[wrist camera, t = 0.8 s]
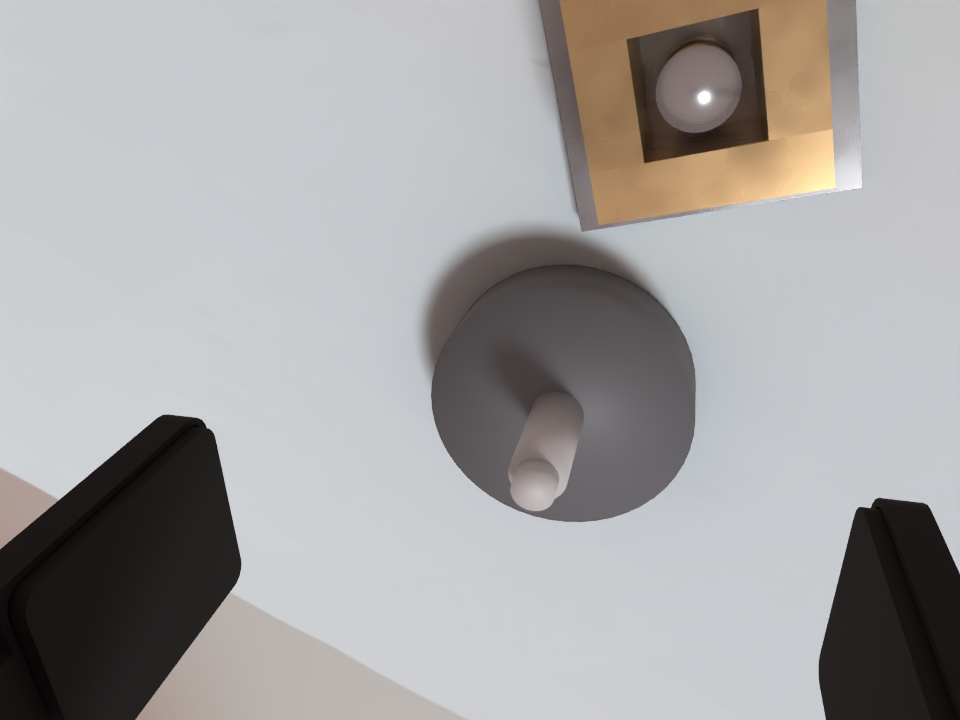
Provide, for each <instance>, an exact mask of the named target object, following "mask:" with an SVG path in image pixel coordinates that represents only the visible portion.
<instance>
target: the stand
mask: <svg viewBox="0 0 960 720" xmlns="http://www.w3.org/2000/svg"><path fill="white" fill-rule="evenodd" d="M539 1H540V6H541V12H542V17H543V23H544V28H545V34H546V39H547V44H548V50H549V55H550V61H551V66H552V72H553V77H554V83H555V88H556V94H557V99H558V104H559V110H560V115H561V121H562V126H563V132H564V137H565V143H566V148H567V154H568V159H569V164H570V170H571V175H572V181H573V186H574V192H575V197H576V203H577V208H578V214H579V219H580V224H581V230H582V232H583V231H589V230H595V229H602V228H608V227H615V226H621V225H627V224H634V223H640V222H647V221H653V220H659V219H666V218H672V217H678V216H685V215H691V214H698V213H704V212H710V211H717V210H723V209H729V208H736V207H742V206H749V205H755V204H761V203H768V202H774V201H781V200H787V199H793V198H800V197H806V196H812V195H819V194H825V193H832V192H838V191H844V190H851V189H857V188H862V172H861V142H860V112H859V81H858V51H857V21H856V0H827V20H828V42H829V63H830V84H831V105H832V127H833V148H834V169H835V188H831V189H825V190H818V191H812V192H806V193H799V194H793V195H787V196H780V197H774V198H768V199H762V200H755V201H749V202H743V203H736V204H730V205H724V206H717V207H711V208H705V209H698V210H692V211H686V212H679V213H673V214H667V215H660V216H654V217H648V218H642V219H635V220H629V221H623V222H616V223H610V224H604V225H598V219H597V213H596V207H595V202H594V196H593V190H592V184H591V179H590V173H589V167H588V161H587V156H586V150H585V144H584V138H583V133H582V127H581V121H580V115H579V110H578V104H577V98H576V92H575V87H574V81H573V75H572V69H571V64H570V58H569V52H568V46H567V41H566V35H565V29H564V23H563V18H562V12H561V6H560V0H539ZM639 37H640V44H641V51H642V58H643V66H644V73H645V80H646V87H647V95H648V102H649V109H650V116H651V124H652V131H653V134H654V133H660V132H665V131H670V130H675V129H679V130H681V131H685V132H690V133H699V132H705V131H709V130H711V129H714V128H716V127H717V126H719V125H721V124H722V123H723V122H724V121H726V120H727V119H732V118H737V117H742V116H748V115H753V114H758V111H757V99H756V87H755V75H754V63H753V52H752V40H751V28H750V16H749V11H745V12H741V13H736V14H732V15H728V16H724V17H719V18H715V19H711V20H707V21H702V22H698V23H694V24H690V25H685V26H681V27H677V28H673V29H668V30H664V31H660V32H656V33H651V34H647V35H643V36H639Z"/></svg>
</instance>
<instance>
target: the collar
mask: <svg viewBox="0 0 960 720" xmlns="http://www.w3.org/2000/svg"><path fill="white" fill-rule="evenodd" d="M560 6H561V12H562V18H563V23H564V29H565V35H566V41H567V46H568V52H569V58H570V64H571V69H572V75H573V81H574V87H575V92H576V98H577V104H578V110H579V115H580V121H581V127H582V133H583V138H584V144H585V150H586V156H587V161H588V167H589V173H590V179H591V184H592V190H593V196H594V202H595V207H596V213H597V219H598V225H604V224H610V223H616V222H623V221H629V220H635V219H642V218H648V217H654V216H660V215H667V214H673V213H679V212H686V211H692V210H698V209H705V208H711V207H717V206H724V205H730V204H736V203H743V202H749V201H755V200H762V199H768V198H774V197H780V196H787V195H793V194H799V193H806V192H812V191H818V190H825V189H831V188H835V169H834V148H833V127H832V105H831V84H830V63H829V42H828V20H827V0H560ZM745 11H749V16H750V28H751V40H752V52H753V63H754V75H755V87H756V99H757V111H758V114H753V115H748V116H742V117H737V118H732V119H727V120H726V121H724V122H723V123H722V124H721V125H719V126H717V127H716V128H714V129H711V130H709V131H705V132H699V133H690V132H685V131H681V130H679V129H675V130H670V131H665V132H660V133H654V134H653V131H652V124H651V116H650V109H649V102H648V95H647V87H646V80H645V73H644V66H643V58H642V51H641V44H640V37H639V36H643V35H647V34H651V33H656V32H660V31H664V30H668V29H673V28H677V27H681V26H685V25H690V24H694V23H698V22H702V21H707V20H711V19H715V18H719V17H724V16H728V15H732V14H736V13H741V12H745Z"/></svg>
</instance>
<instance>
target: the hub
mask: <svg viewBox="0 0 960 720" xmlns="http://www.w3.org/2000/svg"><path fill="white" fill-rule="evenodd" d="M695 385H696V384H695V369H694V364H693V359H692V355H691V352H690V349H689V346H688V344H687V341H686V339H685V337H684V335H683V333H682V331H681V330H680V328H679V326H678V325H677V323H676V322H675V320H674V319H673V318H672V316H671V315H670V314H669V312H668V311H667V310H666V309H665V308H664V307H663V306H662V305H661V304H660V303H659V302H658V301H657V300H656V299H654V298H653V297H652V296H651V295H649V294H648V293H647V292H646V291H644V290H643V289H641V288H640V287H638V286H636V285H635V284H633V283H631V282H630V281H628V280H626V279H623V278H621V277H619V276H617V275H614V274H612V273H609V272H605V271H602V270H599V269H595V268H590V267H584V266H577V265H552V266H543V267H538V268H533V269H529V270H526V271H523V272H520V273H517V274H514V275H512V276H510V277H508V278H506V279H504V280H502V281H500V282H499V283H497V284H496V285H494V286H493V287H492V288H490V289H489V290H487V291H486V292H485V293H484V294H483V295H482V296H481V297H480V298H479V299H478V300H477V301H476V302H475V303H474V304H473V306H472V307H471V308H470V309H469V311H468V312H467V313H466V315H465V316H464V318H463V319H462V321H461V322H460V323H459V325H458V326H457V328H456V329H455V331H454V332H453V334H452V335H451V337H450V338H449V339H448V341H447V343H446V345H445V346H444V348H443V350H442V352H441V353H440V356H439V359H438V361H437V364H436V366H435V371H434V375H433V380H432V392H431V398H432V410H433V415H434V420H435V424H436V427H437V430H438V432H439V435H440V438H441V440H442V442H443V444H444V446H445V448H446V450H447V452H448V453H449V454H450V456H451V457H452V459H453V460H454V462H455V463H456V465H457V466H458V467H459V468H460V469H461V470H462V472H463V473H464V474H465V475H466V476H467V477H468V478H469V479H470V480H471V481H472V482H473V483H474V484H476V485H477V486H478V487H479V488H480V489H482V490H483V491H484V492H486V493H487V494H488V495H490V496H491V497H493V498H495V499H496V500H498V501H500V502H501V503H503V504H505V505H507V506H509V507H512V508H514V509H516V510H518V511H521V512H524V513H527V514H530V515H532V516H536V517H541V518H545V519H549V520H557V521H565V522H585V521H597V520H602V519H607V518H612V517H615V516H618V515H621V514H624V513H627V512H629V511H631V510H634V509H636V508H638V507H640V506H642V505H643V504H645V503H646V502H648V501H650V500H651V499H653V498H654V497H655V496H657V495H658V494H659V493H660V492H661V491H662V490H664V489H665V488H666V487H667V486H668V484H669V483H670V482H671V481H672V480H673V479H674V478H675V476H676V475H677V473H678V472H679V470H680V469H681V467H682V466H683V464H684V462H685V460H686V457H687V455H688V453H689V450H690V447H691V443H692V439H693V436H694V426H695Z"/></svg>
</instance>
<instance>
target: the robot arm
mask: <svg viewBox="0 0 960 720" xmlns="http://www.w3.org/2000/svg"><path fill="white" fill-rule="evenodd" d="M240 571H241V558H240V553H239V548H238V544H237V539H236V534H235V529H234V525H233V520H232V515H231V511H230V506H229V501H228V496H227V492H226V487H225V482H224V477H223V473H222V468H221V463H220V459H219V454H218V449H217V444H216V440H215V436H214V433H213V432H212V431H211V430H210V429H207V428H206V425H205V423H204V422H203V421H202V420H200V419H198V418H193V417H184V416H175V415H162V416H160V417H158V418H157V419H156V420H154V421H153V422H152V423H151V424H150V425H148V426H147V427H146V428H145V429H144V430H143V431H141V432H140V433H139V434H138V435H137V436H135V437H134V438H133V439H132V440H131V441H129V442H128V443H127V444H126V445H125V446H123V447H122V448H121V449H120V450H119V451H117V452H116V453H115V454H114V455H113V456H111V457H110V458H109V459H108V460H107V461H105V462H104V463H103V464H102V465H101V466H99V467H98V468H97V469H96V470H95V471H93V472H92V473H91V474H90V475H89V476H88V477H86V478H85V479H84V480H83V481H82V482H80V483H79V484H78V485H77V486H76V487H74V488H73V489H72V490H71V491H70V492H68V493H67V494H66V495H65V496H64V497H62V498H61V499H60V500H59V501H58V502H56V504H54V505H53V506H52V507H50V508H49V509H48V510H47V511H46V512H44V513H43V514H42V515H41V516H40V517H39V518H37V519H36V520H35V521H34V522H32V523H31V524H30V525H29V526H28V527H27V528H25V529H24V530H23V531H22V532H21V533H20V534H18V535H17V536H16V537H15V538H13V539H12V540H11V541H10V542H9V543H7V544H6V545H5V546H4V547H3V548H1V549H0V720H135V719H136V718H137V716H138V715H139V714H140V712H141V711H142V710H143V708H144V707H145V706H146V704H147V703H148V702H149V700H150V699H151V698H152V696H153V695H154V694H155V692H156V691H157V689H158V688H159V687H160V685H161V684H162V683H163V681H164V680H165V679H166V677H167V676H168V675H169V673H170V672H171V671H172V669H173V668H174V667H175V665H176V664H177V663H178V661H179V660H180V658H181V657H182V656H183V654H184V653H185V651H186V650H187V649H188V648H189V646H190V645H191V644H192V642H193V641H194V640H195V638H196V637H197V636H198V634H199V633H200V632H201V630H202V629H203V628H204V626H205V625H206V623H207V622H208V621H209V619H210V618H211V617H212V615H213V614H214V613H215V611H216V610H217V609H218V607H219V606H220V605H221V603H222V602H223V601H224V599H225V598H226V597H227V595H228V594H229V592H230V591H231V590H232V588H233V587H234V586H235V584H236V582H237V580H238V578H239V575H240ZM819 683H820V689H821V695H822V700H823V705H824V711H825V716H826V720H960V574H959V571H958V569H957V567H956V565H955V562H954V560H953V558H952V556H951V554H950V551H949V549H948V547H947V545H946V543H945V540H944V538H943V536H942V534H941V531H940V529H939V527H938V525H937V523H936V520H935V518H934V516H933V514H932V512H931V510H930V508H929V507H928V505H926V504H924V503H917V502H909V501H900V500H892V499H883V498H877V499H875V501H874V502H873V504H872V507H871V508H864V507H859V508H858V509H857V511H856V513H855V516H854V520H853V524H852V528H851V532H850V536H849V540H848V544H847V548H846V552H845V556H844V560H843V564H842V568H841V572H840V576H839V580H838V584H837V588H836V592H835V596H834V600H833V604H832V609H831V613H830V617H829V621H828V625H827V629H826V633H825V637H824V641H823V645H822V649H821V653H820V658H819Z"/></svg>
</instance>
